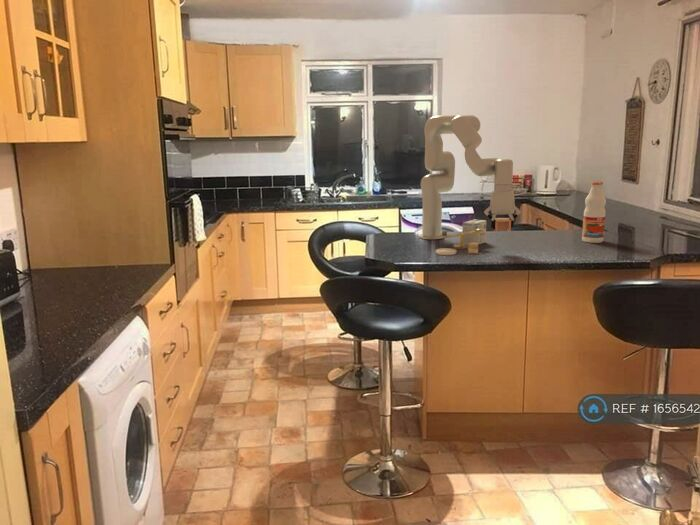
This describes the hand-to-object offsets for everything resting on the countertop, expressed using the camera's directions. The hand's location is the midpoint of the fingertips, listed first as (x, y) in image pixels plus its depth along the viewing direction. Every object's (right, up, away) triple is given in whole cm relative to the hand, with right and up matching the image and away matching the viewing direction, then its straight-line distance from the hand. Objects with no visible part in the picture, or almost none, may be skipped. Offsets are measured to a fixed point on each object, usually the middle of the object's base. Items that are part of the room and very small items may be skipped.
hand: (501, 228), depth 254 cm
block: (-12, -10, +4) cm, 16 cm away
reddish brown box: (0, -1, 0) cm, 1 cm away
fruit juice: (+49, -5, +21) cm, 53 cm away
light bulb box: (-8, -6, +22) cm, 24 cm away
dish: (-24, -10, +3) cm, 26 cm away
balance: (-15, -8, +13) cm, 21 cm away
